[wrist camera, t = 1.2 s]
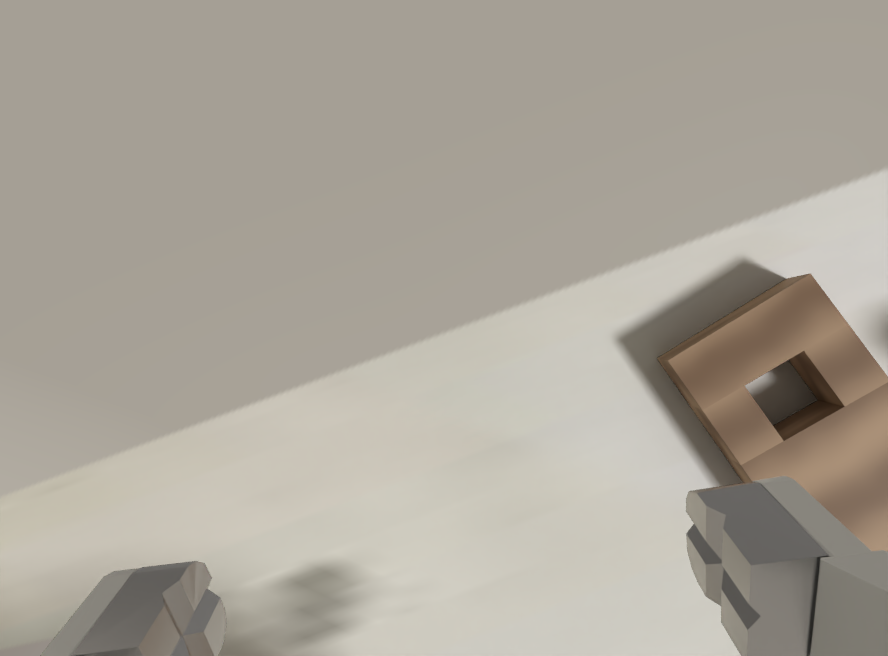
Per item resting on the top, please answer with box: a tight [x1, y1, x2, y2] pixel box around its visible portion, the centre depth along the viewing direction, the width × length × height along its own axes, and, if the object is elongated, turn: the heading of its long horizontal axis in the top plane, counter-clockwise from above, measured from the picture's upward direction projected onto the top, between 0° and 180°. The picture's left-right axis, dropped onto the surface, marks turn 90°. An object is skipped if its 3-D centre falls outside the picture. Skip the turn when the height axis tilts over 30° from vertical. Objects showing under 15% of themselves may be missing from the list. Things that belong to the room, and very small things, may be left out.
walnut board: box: [657, 274, 888, 552], centre depth 39 cm, size 22×12×4 cm, turn 33°
